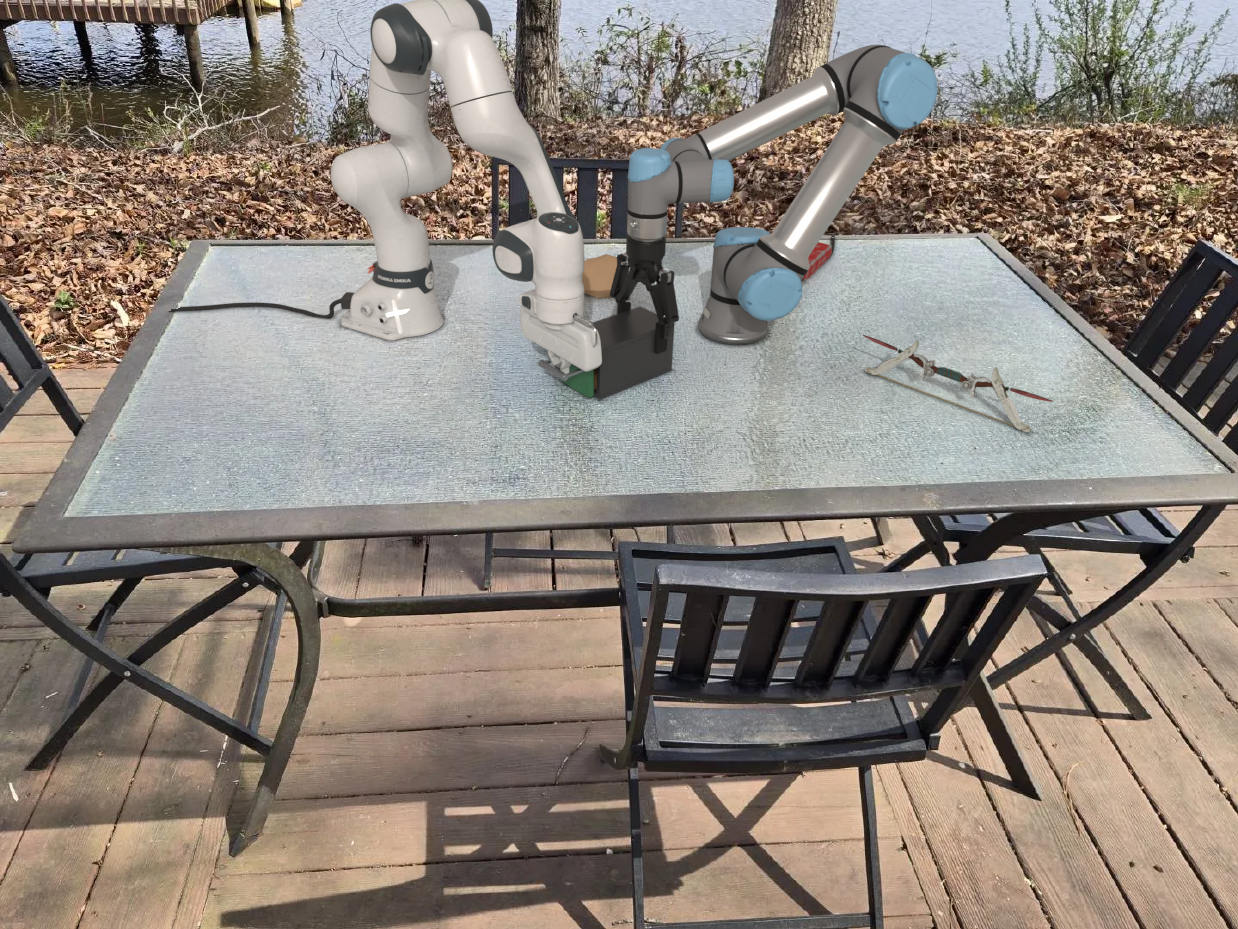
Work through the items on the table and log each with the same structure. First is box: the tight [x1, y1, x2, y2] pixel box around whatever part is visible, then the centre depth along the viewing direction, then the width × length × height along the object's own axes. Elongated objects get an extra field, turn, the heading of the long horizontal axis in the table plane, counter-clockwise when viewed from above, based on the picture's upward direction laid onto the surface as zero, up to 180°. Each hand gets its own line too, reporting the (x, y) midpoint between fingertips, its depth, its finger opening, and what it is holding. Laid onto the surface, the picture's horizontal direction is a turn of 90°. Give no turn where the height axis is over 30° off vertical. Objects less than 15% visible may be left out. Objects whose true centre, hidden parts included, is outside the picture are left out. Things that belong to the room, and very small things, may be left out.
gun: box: [801, 241, 832, 284], centre depth 227 cm, size 4×31×19 cm
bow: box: [862, 334, 1055, 433], centre depth 169 cm, size 39×2×10 cm, turn 47°
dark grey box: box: [592, 305, 676, 401], centre depth 175 cm, size 19×10×11 cm, turn 131°
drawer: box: [537, 358, 597, 399], centre depth 172 cm, size 24×9×9 cm, turn 131°
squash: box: [582, 253, 630, 299], centre depth 210 cm, size 11×20×9 cm, turn 90°
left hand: (561, 373), depth 166 cm, fingers closed
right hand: (641, 342), depth 178 cm, fingers closed on dark grey box, 10 cm apart
